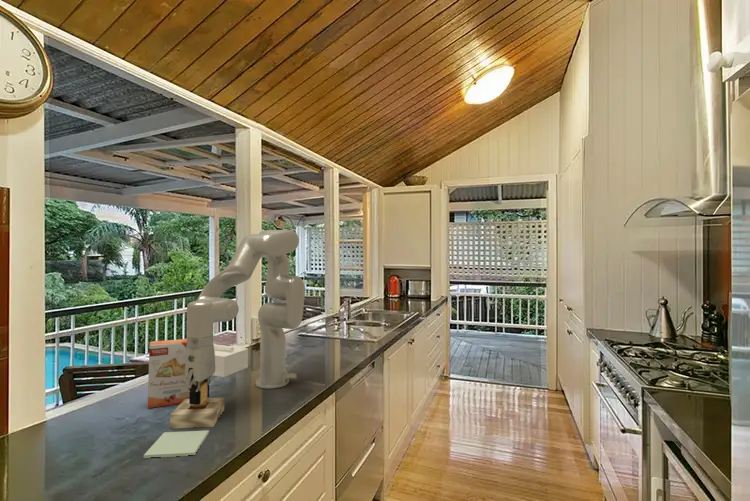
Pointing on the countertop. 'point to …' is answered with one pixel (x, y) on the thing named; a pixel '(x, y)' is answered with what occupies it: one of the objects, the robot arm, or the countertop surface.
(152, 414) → the countertop surface
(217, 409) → the bored block
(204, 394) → the brass plug
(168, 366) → the cracker box
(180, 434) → the green mat
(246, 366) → the tissue box
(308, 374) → the countertop surface
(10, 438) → the countertop surface
